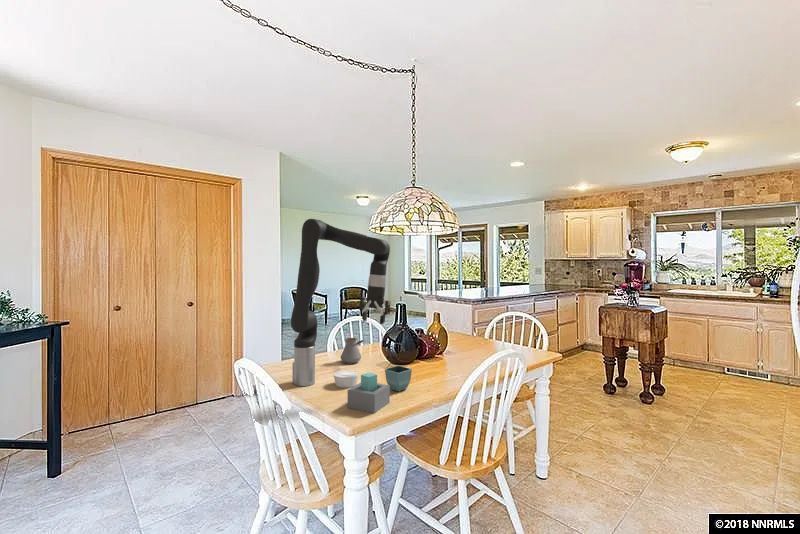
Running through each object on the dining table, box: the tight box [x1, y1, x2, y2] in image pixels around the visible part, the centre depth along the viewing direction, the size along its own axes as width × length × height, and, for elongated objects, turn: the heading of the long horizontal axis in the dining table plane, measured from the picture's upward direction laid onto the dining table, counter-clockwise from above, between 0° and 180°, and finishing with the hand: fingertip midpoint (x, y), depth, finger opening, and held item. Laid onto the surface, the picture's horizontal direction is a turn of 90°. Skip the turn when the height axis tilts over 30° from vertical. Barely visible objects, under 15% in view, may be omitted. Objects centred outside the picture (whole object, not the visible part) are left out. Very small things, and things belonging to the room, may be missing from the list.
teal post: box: [360, 372, 378, 392], centre depth 153 cm, size 4×4×11 cm
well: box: [346, 382, 391, 414], centre depth 153 cm, size 12×12×7 cm
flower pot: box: [384, 365, 413, 392], centre depth 172 cm, size 9×9×9 cm
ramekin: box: [333, 369, 359, 389], centre depth 178 cm, size 11×11×5 cm
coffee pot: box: [340, 337, 366, 365], centre depth 212 cm, size 21×12×15 cm, turn 32°
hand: (373, 322), depth 170 cm, fingers open, 8 cm apart
